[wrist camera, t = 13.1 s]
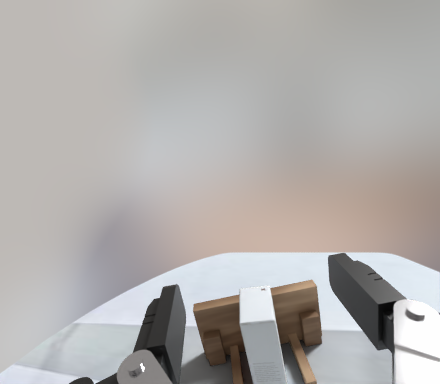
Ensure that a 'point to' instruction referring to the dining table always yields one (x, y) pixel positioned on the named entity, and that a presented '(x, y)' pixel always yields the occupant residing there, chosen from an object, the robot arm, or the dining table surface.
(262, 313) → the skincare box
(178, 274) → the dining table surface
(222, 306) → the wooden stand
